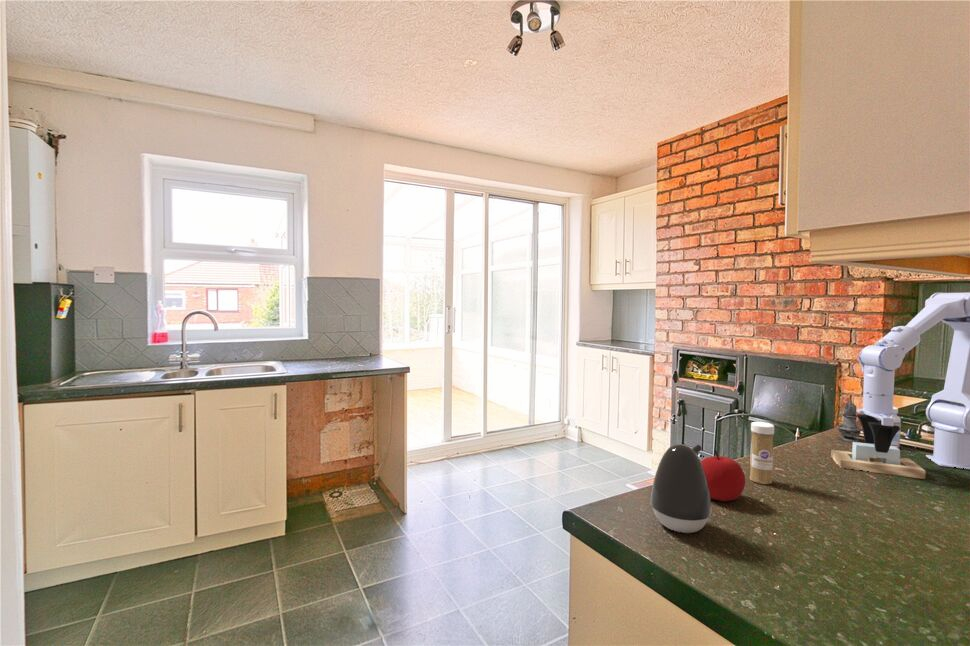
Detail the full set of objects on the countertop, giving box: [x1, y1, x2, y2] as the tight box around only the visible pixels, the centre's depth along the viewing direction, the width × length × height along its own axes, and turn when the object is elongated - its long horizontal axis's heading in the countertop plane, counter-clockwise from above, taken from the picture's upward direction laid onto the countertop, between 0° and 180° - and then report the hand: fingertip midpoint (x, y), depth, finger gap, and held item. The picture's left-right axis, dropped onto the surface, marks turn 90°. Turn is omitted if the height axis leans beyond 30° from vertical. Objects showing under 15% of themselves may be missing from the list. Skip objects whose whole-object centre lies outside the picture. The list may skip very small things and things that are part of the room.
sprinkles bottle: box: [749, 421, 775, 485], centre depth 104 cm, size 5×5×14 cm
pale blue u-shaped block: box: [851, 442, 901, 465], centre depth 113 cm, size 8×3×6 cm, turn 64°
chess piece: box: [836, 400, 863, 443], centre depth 136 cm, size 6×6×12 cm
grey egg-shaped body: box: [650, 443, 712, 534], centre depth 83 cm, size 10×10×15 cm
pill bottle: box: [890, 406, 902, 449], centre depth 131 cm, size 6×6×11 cm
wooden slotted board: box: [830, 449, 926, 480], centre depth 113 cm, size 16×9×2 cm, turn 64°
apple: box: [700, 450, 746, 502], centre depth 95 cm, size 9×9×10 cm
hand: (876, 447), depth 113 cm, fingers open, 7 cm apart
